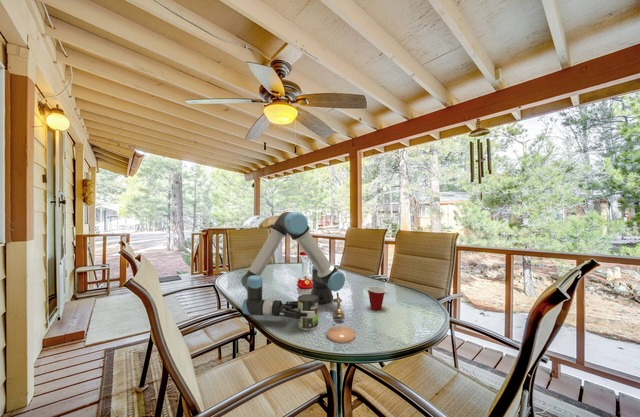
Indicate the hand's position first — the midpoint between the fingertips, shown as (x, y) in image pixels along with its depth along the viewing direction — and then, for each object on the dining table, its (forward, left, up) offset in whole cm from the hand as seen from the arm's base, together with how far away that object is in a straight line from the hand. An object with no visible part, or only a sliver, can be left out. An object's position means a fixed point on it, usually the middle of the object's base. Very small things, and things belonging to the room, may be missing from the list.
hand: (316, 309), depth 130 cm
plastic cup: (+8, +40, -8) cm, 42 cm away
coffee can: (-3, -3, -8) cm, 9 cm away
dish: (+15, +1, -8) cm, 17 cm away
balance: (0, +16, -8) cm, 18 cm away
